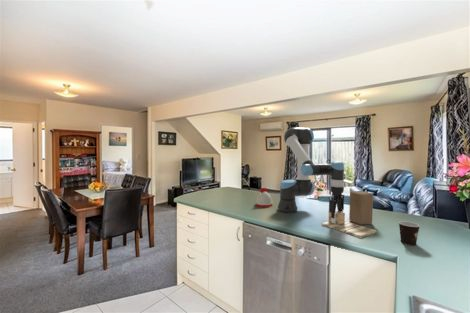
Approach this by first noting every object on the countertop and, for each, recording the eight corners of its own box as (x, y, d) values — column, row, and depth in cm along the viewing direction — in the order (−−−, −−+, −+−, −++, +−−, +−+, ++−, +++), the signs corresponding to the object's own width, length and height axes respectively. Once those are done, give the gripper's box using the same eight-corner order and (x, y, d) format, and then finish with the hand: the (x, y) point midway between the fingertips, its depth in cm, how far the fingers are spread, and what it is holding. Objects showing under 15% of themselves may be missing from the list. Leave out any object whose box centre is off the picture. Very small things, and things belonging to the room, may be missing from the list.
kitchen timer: (253, 203, 202) (253, 186, 201) (266, 202, 207) (266, 185, 207) (261, 207, 189) (261, 189, 188) (275, 206, 195) (275, 188, 194)
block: (360, 225, 148) (361, 194, 147) (348, 220, 158) (349, 191, 157) (372, 224, 151) (373, 193, 150) (360, 219, 160) (361, 190, 159)
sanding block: (328, 221, 151) (328, 211, 150) (333, 220, 154) (333, 210, 153) (339, 225, 144) (340, 214, 144) (344, 223, 147) (344, 212, 147)
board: (322, 225, 148) (322, 223, 148) (336, 220, 157) (337, 218, 157) (361, 238, 128) (361, 236, 128) (376, 232, 136) (376, 230, 136)
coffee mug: (409, 239, 126) (410, 221, 126) (423, 246, 118) (424, 226, 117) (388, 239, 126) (389, 221, 125) (400, 246, 117) (401, 227, 117)
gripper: (333, 188, 140) (332, 226, 141) (350, 185, 150) (349, 221, 151) (323, 186, 146) (322, 223, 147) (339, 183, 156) (338, 218, 157)
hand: (336, 222), depth 149 cm, fingers closed on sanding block, 5 cm apart
